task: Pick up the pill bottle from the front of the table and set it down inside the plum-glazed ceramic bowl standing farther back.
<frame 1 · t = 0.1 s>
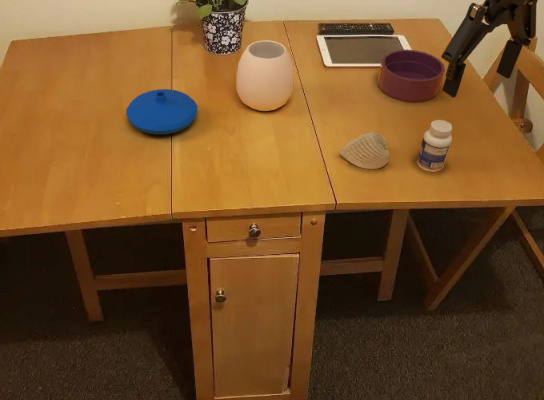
hand: (476, 84, 107), 18 cm above the table, tool pointing down, fingers open, 13 cm apart
blue lid with knob: (163, 121, 131), on the table
white rounded pot: (263, 102, 136), on the table
seashell: (366, 158, 121), on the table
bowl: (407, 86, 141), on the table
pill bottle: (429, 165, 119), on the table
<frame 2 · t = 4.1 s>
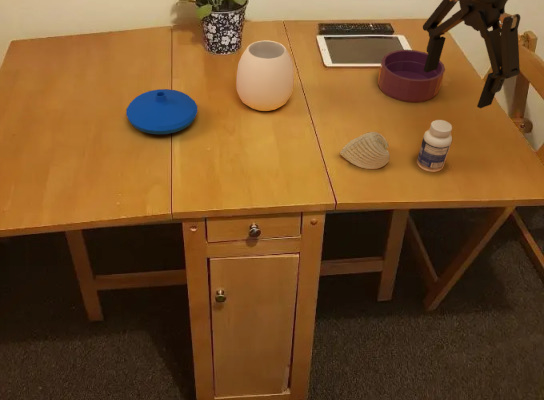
hand: (455, 87, 107), 18 cm above the table, tool pointing down, fingers open, 13 cm apart
nothing on the table moved.
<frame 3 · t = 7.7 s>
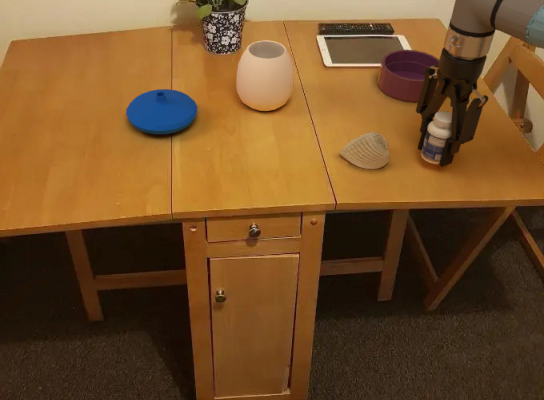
hand: (434, 155, 117), 3 cm above the table, tool pointing down, fingers closed on pill bottle, 5 cm apart
pill bottle: (433, 157, 117), point 2 cm above the table, touching gripper
everything else where it was.
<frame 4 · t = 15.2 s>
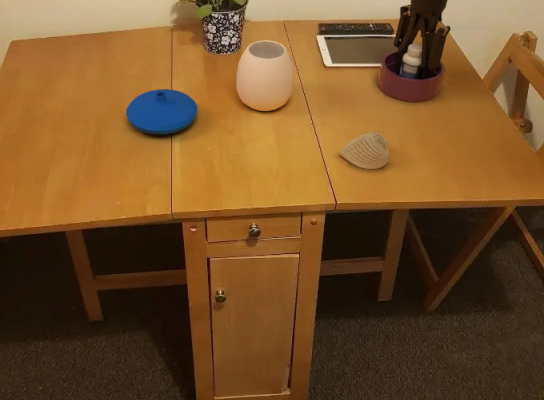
hand: (408, 83, 140), 1 cm above the table, tool pointing down, fingers closed on pill bottle, 5 cm apart
pill bottle: (408, 84, 140), point 1 cm above the table, touching gripper
everything else where it was.
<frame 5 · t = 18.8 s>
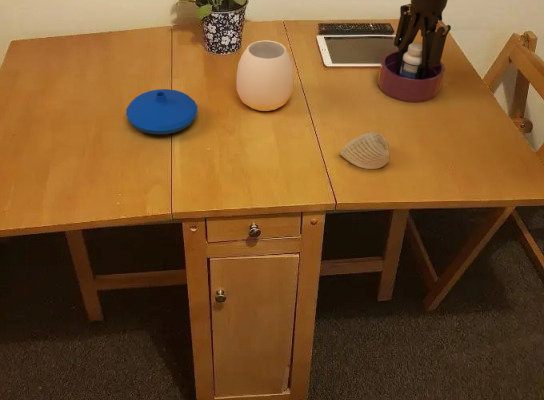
hand: (409, 82, 140), 1 cm above the table, tool pointing down, fingers closed on pill bottle, 5 cm apart
pill bottle: (408, 84, 140), point 1 cm above the table, touching gripper
everything else where it was.
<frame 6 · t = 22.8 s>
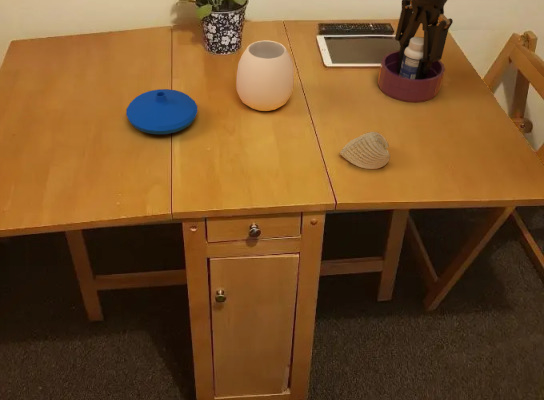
hand: (410, 77, 139), 3 cm above the table, tool pointing down, fingers closed on pill bottle, 5 cm apart
pill bottle: (409, 78, 139), point 2 cm above the table, touching gripper
everything else where it was.
when the fingers open (3 cm above the table, at t = 29.9 s): pill bottle drops 2 cm, resting on bowl.
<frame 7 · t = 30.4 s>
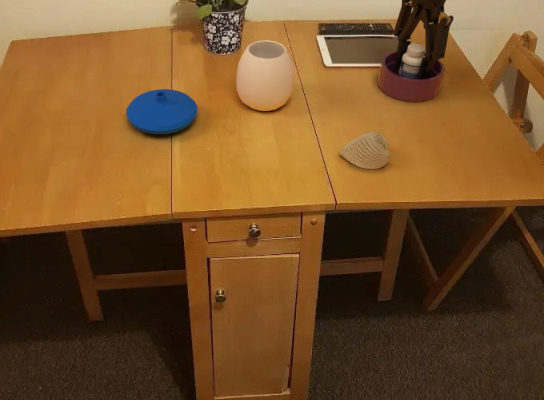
hand: (410, 74, 138), 3 cm above the table, tool pointing down, fingers open, 7 cm apart
pill bottle: (407, 84, 140), resting on bowl
everything else where it was.
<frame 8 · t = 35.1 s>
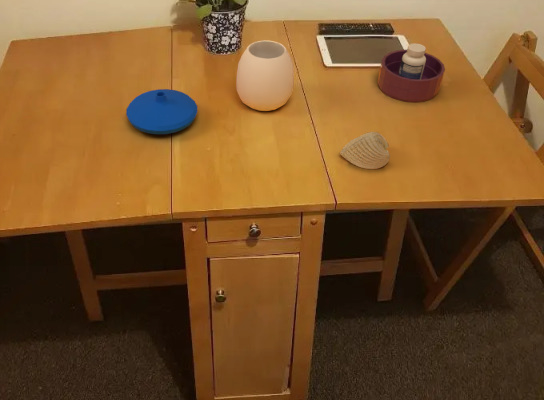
nothing on the table moved.
at the end: pill bottle inside the target area in the bowl (0.1 cm from its centre), point 0.5 cm above the bowl's base; the gripper is holding nothing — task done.
